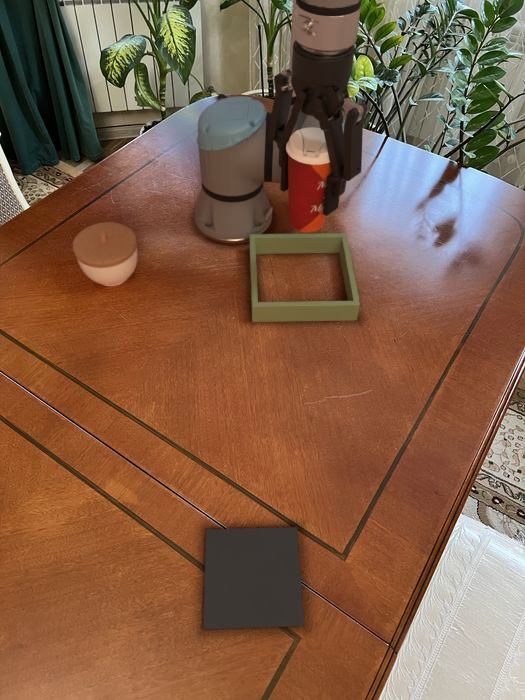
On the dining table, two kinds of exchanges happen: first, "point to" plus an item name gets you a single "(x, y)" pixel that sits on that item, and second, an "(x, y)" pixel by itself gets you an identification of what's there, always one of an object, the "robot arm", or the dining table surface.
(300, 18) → the robot arm
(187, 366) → the dining table surface
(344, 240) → the square frame
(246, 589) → the mat
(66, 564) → the dining table surface
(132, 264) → the trinket box
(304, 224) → the paper cup
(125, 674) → the dining table surface
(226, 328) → the dining table surface
